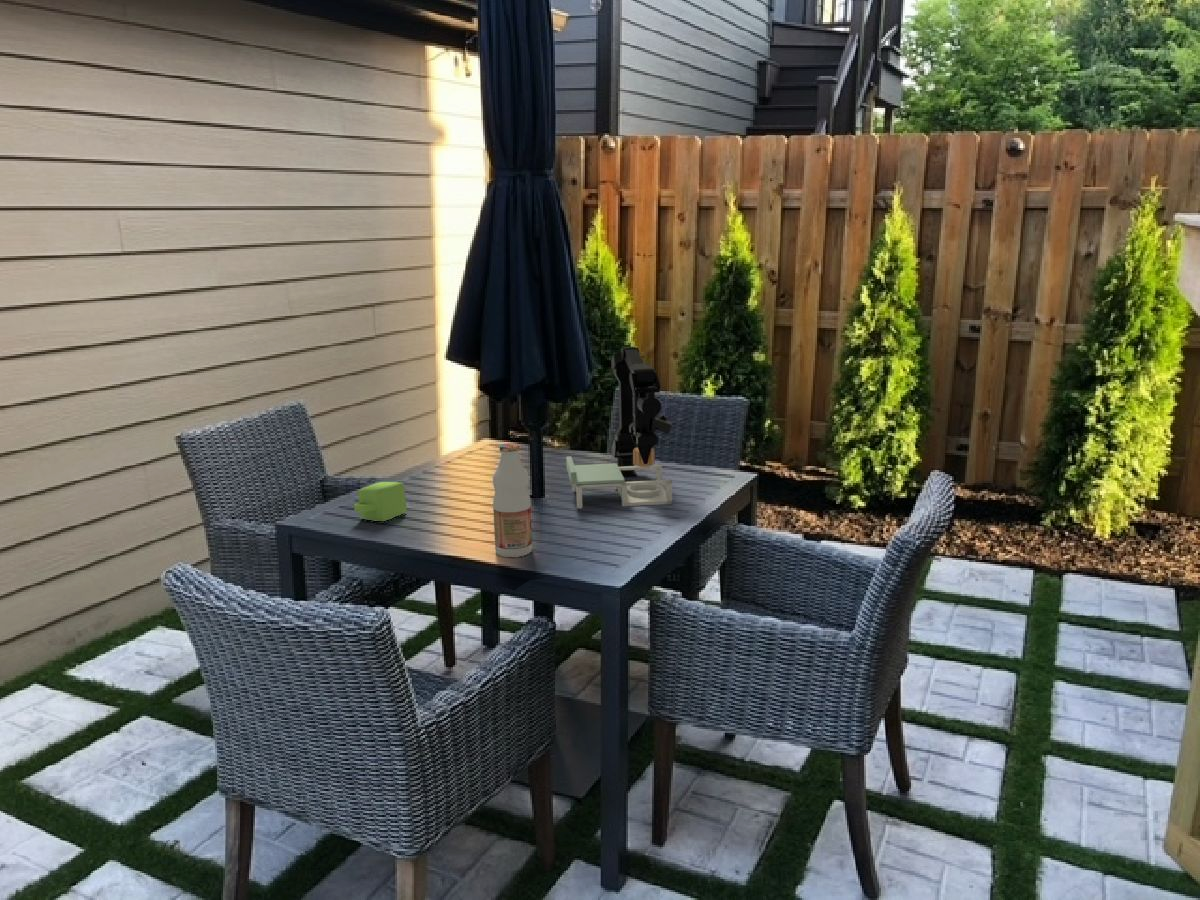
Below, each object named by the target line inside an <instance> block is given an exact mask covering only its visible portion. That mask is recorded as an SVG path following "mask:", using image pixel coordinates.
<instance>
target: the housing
mask: <svg viewBox="0 0 1200 900" xmlns="http://www.w3.org/2000/svg"><path fill="white" fill-rule="evenodd" d="M619 469H620V470H635V471H637V470H656V471H655V472H656V474H655V475H656V479H655V480H639V481H635V480H634V481H633V480H632V481H625V482H619V483H598V484H571V489H572V490H571V491H572V492H573V493H576V508H579V509H583V489H586V488H605V487H606V488H608V487H614V490H615V491H618V494H619V496H620V499H621V506H622V507H633V506H634V507H635V506H636V507H637V506H654V505H656V506H657V505H673V480H672V479H663V466H662V464H654V465H651V466H647V467H641V466H636V465H634V466H624V467H619ZM664 485H665V487H664Z"/></svg>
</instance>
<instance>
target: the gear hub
mask: <svg viewBox="0 0 1200 900" xmlns="http://www.w3.org/2000/svg"><path fill="white" fill-rule="evenodd" d="M655 450H656V449H655V448H653V447H652V448H651V452H650V456H649V460H648V463H647V464H644V463H643V460H642V458H641V455H640V452H639V450H638V447H637V448H634V449H633V464H634V465H635V466H641V467H647V466H651V465H656V464H655V459H656V457H655V453H656V452H655Z"/></svg>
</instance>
